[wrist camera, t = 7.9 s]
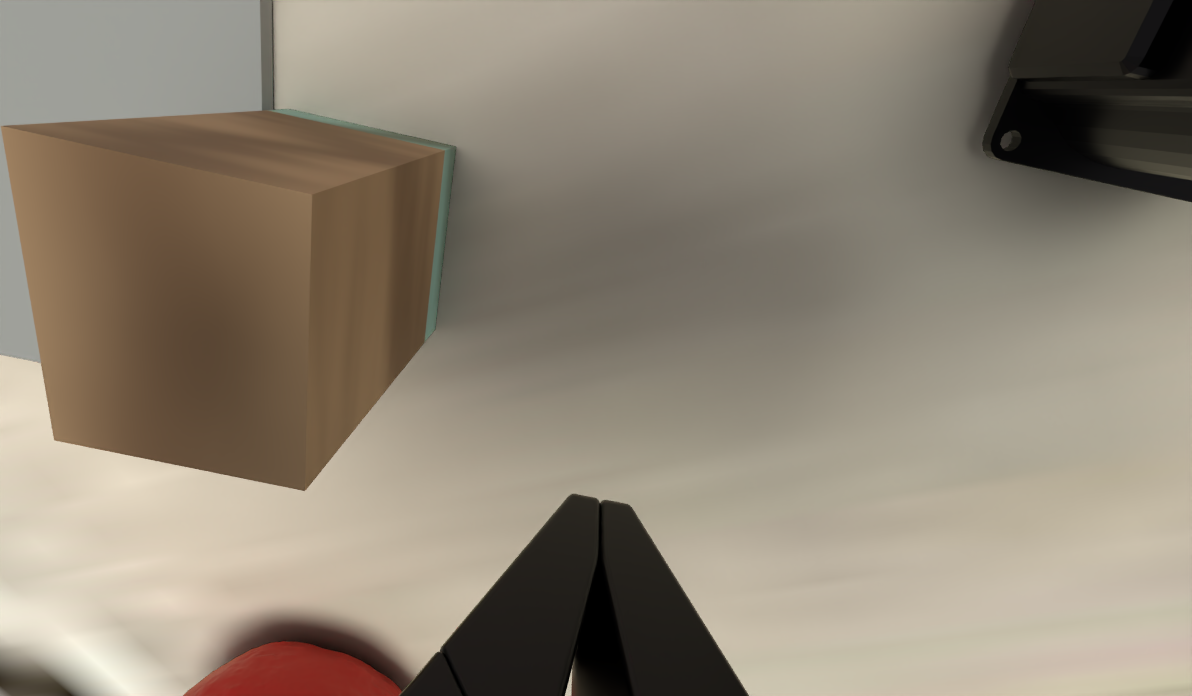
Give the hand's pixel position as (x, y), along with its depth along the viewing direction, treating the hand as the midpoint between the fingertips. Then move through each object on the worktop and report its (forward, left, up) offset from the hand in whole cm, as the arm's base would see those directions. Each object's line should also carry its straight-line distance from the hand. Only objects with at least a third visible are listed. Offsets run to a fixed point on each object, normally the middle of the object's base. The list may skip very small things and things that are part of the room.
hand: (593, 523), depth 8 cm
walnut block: (+8, 0, -12) cm, 14 cm away
